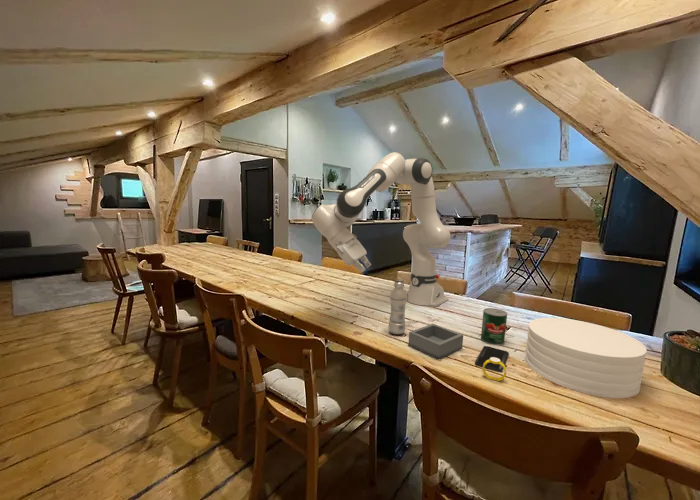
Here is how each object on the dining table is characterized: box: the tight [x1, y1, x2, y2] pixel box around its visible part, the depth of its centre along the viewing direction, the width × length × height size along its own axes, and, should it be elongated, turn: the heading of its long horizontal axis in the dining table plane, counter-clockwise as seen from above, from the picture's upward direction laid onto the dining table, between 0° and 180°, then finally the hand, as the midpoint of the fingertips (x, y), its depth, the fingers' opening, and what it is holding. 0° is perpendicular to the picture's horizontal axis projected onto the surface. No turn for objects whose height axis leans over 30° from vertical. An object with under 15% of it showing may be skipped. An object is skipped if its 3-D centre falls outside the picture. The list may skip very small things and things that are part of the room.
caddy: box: [407, 323, 464, 361], centre depth 107 cm, size 13×12×5 cm
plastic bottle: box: [388, 280, 408, 336], centre depth 117 cm, size 6×7×20 cm
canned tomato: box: [480, 307, 508, 346], centre depth 113 cm, size 8×8×11 cm
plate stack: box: [524, 317, 648, 399], centre depth 94 cm, size 28×28×12 cm
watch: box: [482, 357, 507, 382], centre depth 88 cm, size 6×3×6 cm, turn 62°
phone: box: [474, 345, 510, 373], centre depth 100 cm, size 8×1×15 cm
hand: (366, 268), depth 118 cm, fingers open, 8 cm apart
